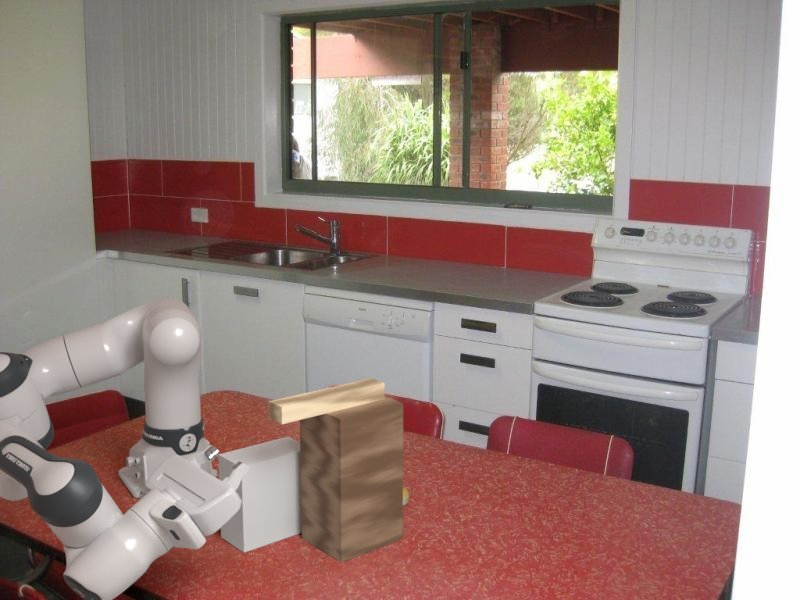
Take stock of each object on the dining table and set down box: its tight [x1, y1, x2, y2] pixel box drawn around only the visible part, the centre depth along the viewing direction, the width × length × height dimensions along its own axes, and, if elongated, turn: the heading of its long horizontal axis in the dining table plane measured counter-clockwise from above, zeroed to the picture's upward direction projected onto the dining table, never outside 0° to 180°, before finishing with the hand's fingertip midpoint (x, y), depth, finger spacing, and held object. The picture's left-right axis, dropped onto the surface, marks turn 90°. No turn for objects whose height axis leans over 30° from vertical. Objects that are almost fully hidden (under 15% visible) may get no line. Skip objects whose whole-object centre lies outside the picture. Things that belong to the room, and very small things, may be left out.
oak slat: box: [268, 377, 386, 425], centre depth 161 cm, size 4×22×3 cm, turn 131°
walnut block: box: [299, 396, 404, 563], centre depth 167 cm, size 12×14×26 cm
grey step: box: [217, 436, 302, 553], centre depth 170 cm, size 8×15×16 cm, turn 131°
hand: (230, 456), depth 150 cm, fingers open, 8 cm apart
